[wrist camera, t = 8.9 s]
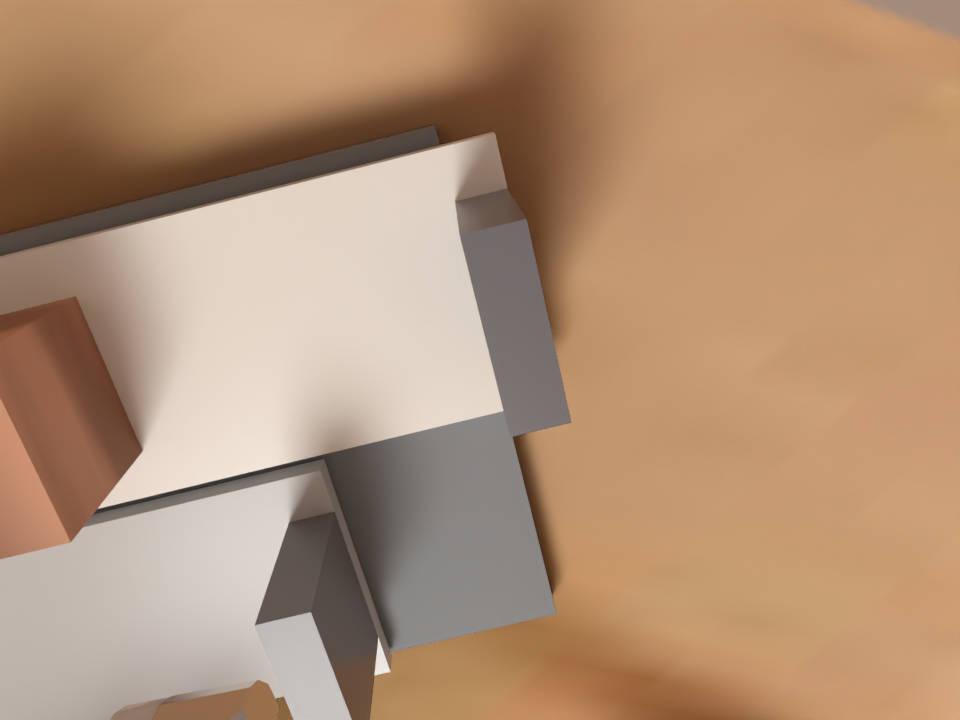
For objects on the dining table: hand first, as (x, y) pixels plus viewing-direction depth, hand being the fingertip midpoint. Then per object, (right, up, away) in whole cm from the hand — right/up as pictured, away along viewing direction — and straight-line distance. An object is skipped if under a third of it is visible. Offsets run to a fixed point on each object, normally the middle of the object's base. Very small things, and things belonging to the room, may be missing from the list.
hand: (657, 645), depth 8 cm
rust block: (-15, +2, +15) cm, 21 cm away
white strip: (-10, +3, +16) cm, 19 cm away
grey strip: (-16, -6, +19) cm, 25 cm away
